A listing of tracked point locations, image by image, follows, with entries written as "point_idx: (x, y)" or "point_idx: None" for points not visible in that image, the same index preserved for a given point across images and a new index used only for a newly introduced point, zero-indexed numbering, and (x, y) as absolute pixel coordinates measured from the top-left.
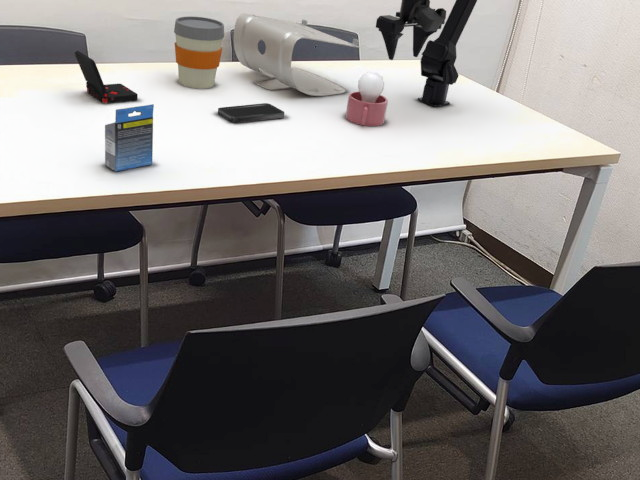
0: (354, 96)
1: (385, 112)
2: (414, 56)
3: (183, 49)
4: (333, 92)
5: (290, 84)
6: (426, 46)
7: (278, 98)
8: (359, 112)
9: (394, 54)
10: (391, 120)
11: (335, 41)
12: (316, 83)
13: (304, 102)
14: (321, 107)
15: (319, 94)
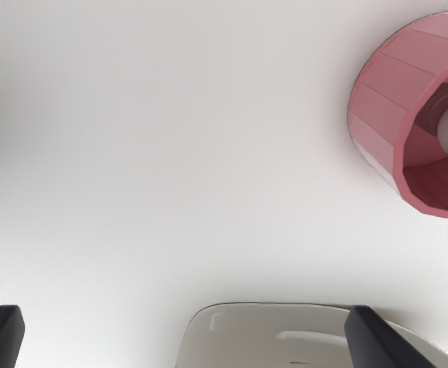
0: (445, 200)
1: (445, 28)
2: (21, 320)
3: None
4: (255, 312)
5: None
6: None
7: (428, 323)
8: None
9: (386, 343)
10: (339, 31)
11: None
12: (230, 366)
13: (405, 286)
14: (411, 244)
15: (314, 311)
